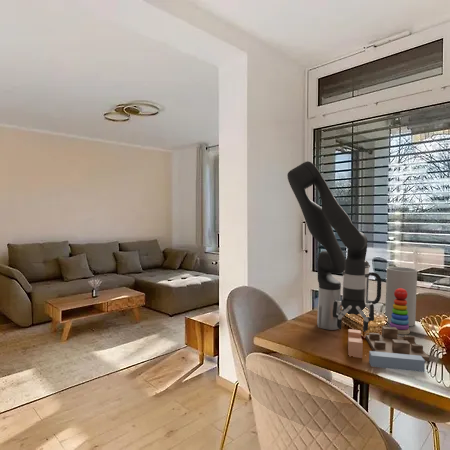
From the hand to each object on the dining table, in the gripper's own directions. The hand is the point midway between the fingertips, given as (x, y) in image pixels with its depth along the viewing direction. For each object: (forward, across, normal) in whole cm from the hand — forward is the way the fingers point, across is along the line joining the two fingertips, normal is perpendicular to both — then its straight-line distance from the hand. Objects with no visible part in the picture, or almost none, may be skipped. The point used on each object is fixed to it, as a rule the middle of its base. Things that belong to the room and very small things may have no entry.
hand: (352, 330), depth 131 cm
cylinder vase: (+7, +26, +40) cm, 48 cm away
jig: (+7, +16, +6) cm, 19 cm away
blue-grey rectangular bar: (+8, +13, -11) cm, 19 cm away
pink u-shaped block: (+8, +1, 0) cm, 8 cm away
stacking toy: (+7, +22, +26) cm, 35 cm away
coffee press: (+7, +8, +51) cm, 52 cm away
